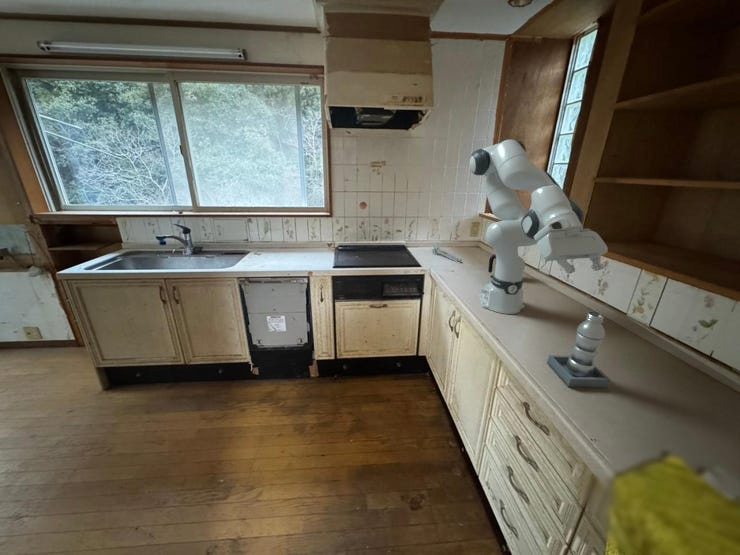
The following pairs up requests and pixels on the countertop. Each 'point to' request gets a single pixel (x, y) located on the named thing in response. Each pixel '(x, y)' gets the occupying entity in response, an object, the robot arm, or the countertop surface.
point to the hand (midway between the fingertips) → (584, 270)
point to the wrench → (444, 253)
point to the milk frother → (491, 264)
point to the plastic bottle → (586, 345)
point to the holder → (572, 381)
